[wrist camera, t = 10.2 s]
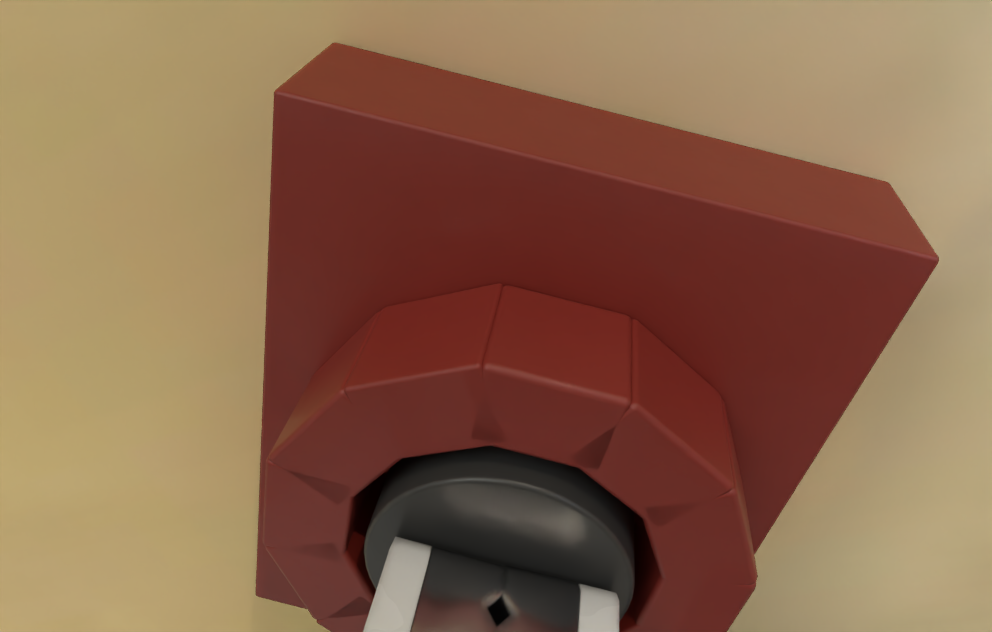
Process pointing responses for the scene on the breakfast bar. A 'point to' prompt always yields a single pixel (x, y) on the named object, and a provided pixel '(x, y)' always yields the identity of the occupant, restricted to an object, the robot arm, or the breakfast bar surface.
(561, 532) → the button
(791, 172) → the button box
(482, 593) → the robot arm
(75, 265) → the breakfast bar surface
